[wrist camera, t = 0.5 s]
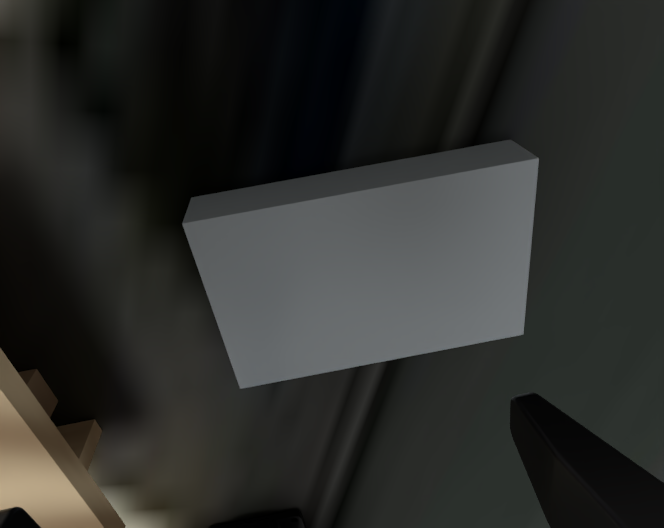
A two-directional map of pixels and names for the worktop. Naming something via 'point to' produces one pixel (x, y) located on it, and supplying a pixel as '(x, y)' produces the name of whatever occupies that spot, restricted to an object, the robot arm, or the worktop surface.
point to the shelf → (47, 457)
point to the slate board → (368, 261)
